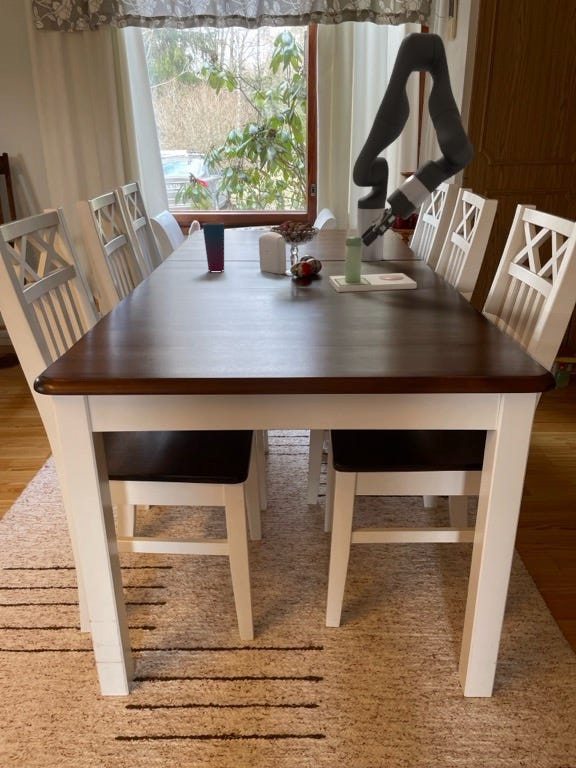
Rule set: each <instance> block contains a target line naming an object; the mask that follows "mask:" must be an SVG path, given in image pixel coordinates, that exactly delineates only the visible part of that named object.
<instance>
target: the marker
mask: <svg viewBox="0 0 576 768" xmlns="http://www.w3.org/2000/svg"><path fill="white" fill-rule="evenodd" d="M344 252H345V256H344V257H345V260H344V267H345V268H344V276H345V282H347V283H359V282H361V275H362V261H361V254H362V237H357V236H346V237H345V251H344Z"/></svg>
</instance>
